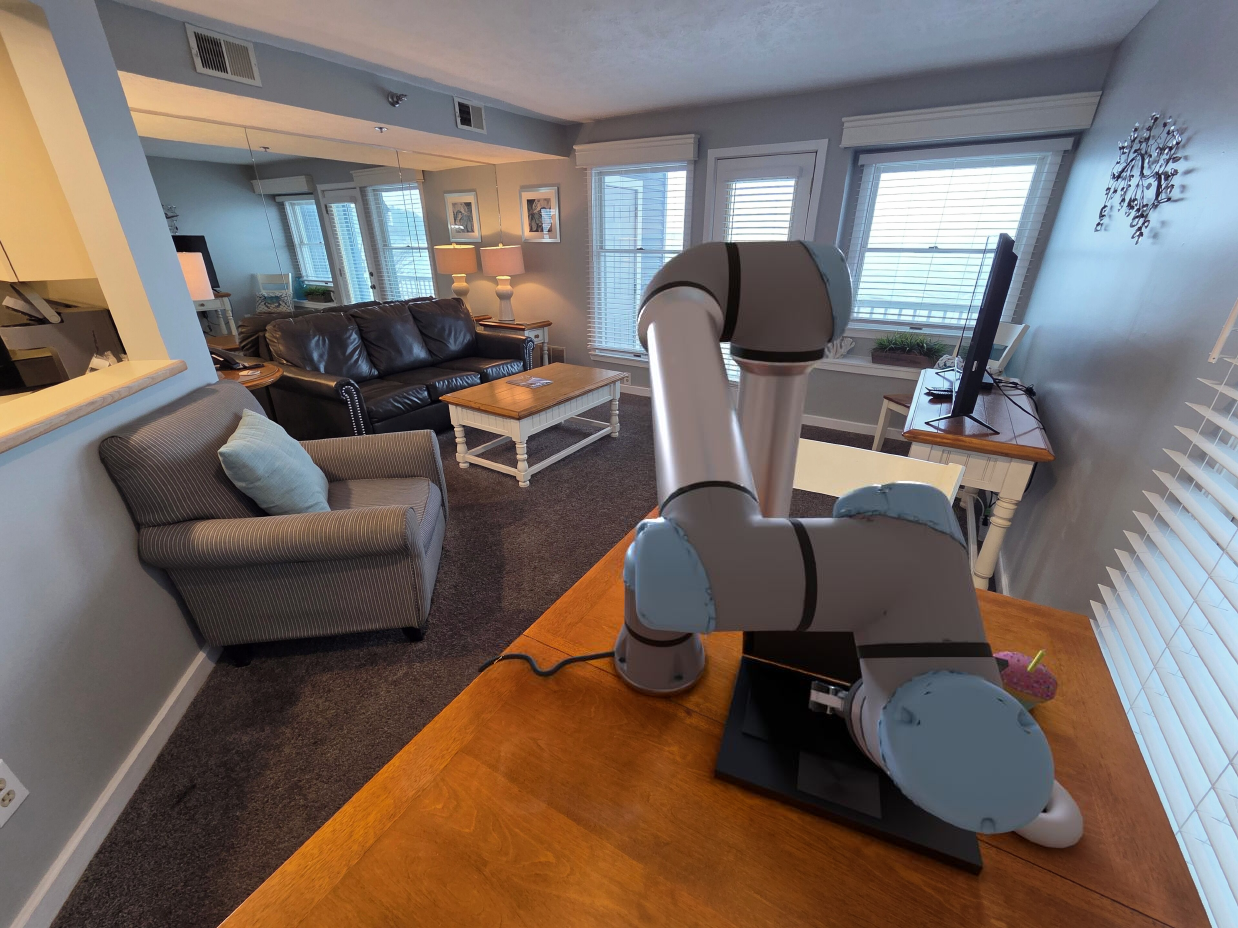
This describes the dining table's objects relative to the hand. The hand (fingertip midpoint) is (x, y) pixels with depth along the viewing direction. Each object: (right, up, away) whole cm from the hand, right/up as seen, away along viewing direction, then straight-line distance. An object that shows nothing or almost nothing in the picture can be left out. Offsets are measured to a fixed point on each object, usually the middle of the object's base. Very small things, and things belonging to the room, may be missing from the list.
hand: (856, 703), depth 60 cm
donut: (+22, -15, +3) cm, 27 cm away
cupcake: (+32, -8, +18) cm, 38 cm away
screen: (+4, +1, +10) cm, 11 cm away
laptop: (+2, -11, +10) cm, 15 cm away
